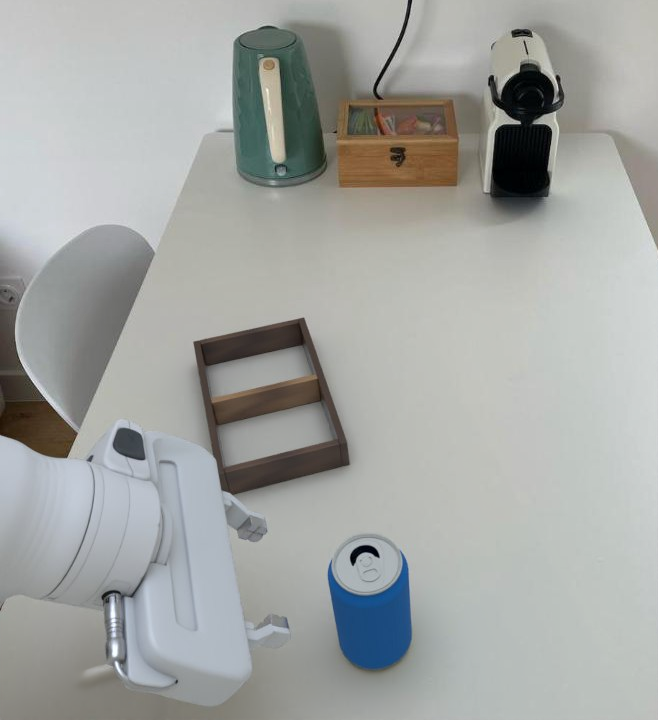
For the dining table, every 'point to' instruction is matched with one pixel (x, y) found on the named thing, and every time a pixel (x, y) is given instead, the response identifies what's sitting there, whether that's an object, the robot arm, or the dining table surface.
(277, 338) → the tray
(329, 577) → the beverage can
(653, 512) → the dining table surface
